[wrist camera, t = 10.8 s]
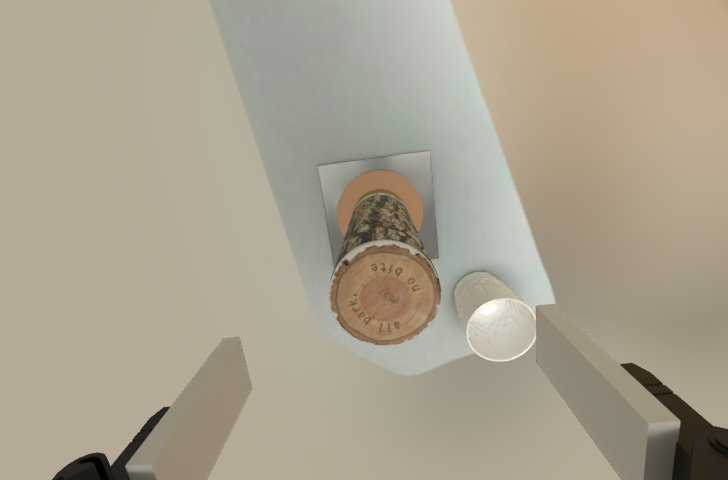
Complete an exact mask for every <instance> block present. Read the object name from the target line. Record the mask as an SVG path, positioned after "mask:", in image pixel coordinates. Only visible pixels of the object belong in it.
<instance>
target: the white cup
mask: <svg viewBox="0 0 728 480" xmlns="http://www.w3.org/2000/svg"><path fill="white" fill-rule="evenodd" d="M454 303H455V305H456V309H457V312H458V315H459V319H460V322H461V324H462V327H463V330H464V332H465V335H466V338H467V341H468V343H469V345H470V347H471V348H472V350H473V351H474V352H475V353H476V354H478V355H479V356H480V357H482V358H485V359H487V360H491V361H498V362H499V361H509V360H512V359H515V358H517V357H519V356H521V355H523V354H524V353H525V352H526V351H528V350H529V348H530V347H531V346H532V345H533V343H534V342H535V340H536V315H535V313H534V312H533V310H532V309H531V308H530V307H529V306H528V305H527V304H526V303H525V302H524V301H523V300H522V299H520V298H519V297H518V296H517V295H516V294H515V293H514V292H513V291H512V290H511V289H510V288H508V287H507V286H506V285H505V284H504V283H502V282H501V281H500V280H499V279H498V278H497V277H495V276H493V275H491V274H490V273H488V272H477V271H476V272H473V273H470V274H468V275H465V276H464V277H463V278H462V279H461V280H460V281H459V282H458V283H457V285H456V287H455V290H454Z"/></svg>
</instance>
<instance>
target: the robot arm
mask: <svg viewBox="0 0 728 480" xmlns="http://www.w3.org/2000/svg"><path fill="white" fill-rule="evenodd" d="M536 362H537V363H538V365H539V366H540V368H541V369H542V370H543V372H544V373H545V375H546V376H547V377H548V379H549V380H550V381H551V383H552V384H553V386H554V387H555V388H556V389H557V391H558V393H559V394H560V395H561V397H562V398H563V400H564V401H565V402H566V404H567V405H568V406H569V408H570V409H571V411H572V412H573V413H574V415H575V416H576V417H577V419H578V420H579V422H580V423H581V425H582V426H583V427H584V429H585V430H586V432H587V433H588V434H589V436H590V437H591V438H592V440H593V441H594V443H595V444H596V445H597V447H598V448H599V450H600V451H601V452H602V454H603V455H604V457H605V458H606V459H607V461H608V462H609V463H610V465H611V466H612V467H613V469H614V470H615V472H616V473H617V475H618V476H619V477H620V479H621V480H728V429H725V428H720V427H716V426H713V425H711V424H710V423H709V422H708V421H707V420H705V419H704V418H703V417H702V416H701V415H700V414H698V413H697V412H696V411H695V410H694V409H692V408H691V407H690V406H689V405H688V404H687V403H685V402H684V401H683V400H682V399H681V398H680V397H678V396H677V395H676V394H673V391H671V390H670V389H669V388H668V387H667V386H665V385H663V384H662V382H660V380H658V379H657V378H656V377H655V376H654V375H653V374H651V373H650V372H649V371H646V370H645V369H643V368H641V367H639V366H637V365H635V364H633V363H627V364H618V363H617V362H616V361H615V360H614V359H613V358H612V357H611V356H610V355H609V354H608V353H606V352H605V351H604V350H603V349H602V348H601V347H600V346H599V345H598V344H597V343H596V342H595V341H594V340H592V339H591V338H590V337H589V336H588V335H587V334H586V333H585V332H584V331H583V330H581V328H579V327H578V326H577V325H576V324H575V323H574V322H573V321H572V320H571V319H570V318H569V317H568V316H567V315H565V314H564V313H563V312H562V311H561V310H560V309H559V308H558V307H557V306H556V305H555V304H549V305H540V306H536ZM251 390H252V385H251V381H250V377H249V373H248V369H247V365H246V361H245V357H244V353H243V349H242V345H241V341H240V337H233V338H223V339H222V341H221V342H220V343H219V345H218V346H217V347H216V348H215V350H214V351H213V352H212V354H211V355H210V356H209V357H208V359H207V360H206V361H205V363H204V364H203V365H202V367H201V368H200V369H199V371H198V372H197V373H196V374H195V376H194V377H193V378H192V380H191V381H190V382H189V383H188V385H187V386H186V387H185V389H184V390H183V391H182V393H181V394H180V395H179V397H178V398H177V399H176V400H175V402H174V403H173V404H172V406H171V407H163V408H162V409H161V410H160V411H158V412H157V413H156V414H155V415H153V416H152V417H151V418H150V419H149V420H148V421H147V423H146V424H145V425H144V426H143V427H142V429H141V430H140V432H139V433H138V434H137V435H136V436H135V437H134V439H133V441H132V442H130V443H129V445H128V446H127V447H126V448H125V450H124V451H123V452H122V454H121V455H120V456H119V457H118V458H117V460H116V461H115V462H114V463H113V465H112V466H111V467H110V464H109V462H108V459H107V457H106V456H105V454H103V453H92V454H88V455H86V456H83V457H80V458H78V459H76V460H75V461H73V462H71V463H70V464H68V465H67V466H65V467H64V468H63V469H62V470H61V471H59V472H58V473H57V474H56V476H55V477H54V478H53V479H52V480H207V479H208V477H209V475H210V473H211V471H212V469H213V467H214V465H215V463H216V461H217V459H218V457H219V455H220V453H221V451H222V449H223V447H224V444H225V442H226V441H227V439H228V437H229V435H230V432H231V430H232V428H233V426H234V424H235V422H236V420H237V418H238V416H239V414H240V412H241V410H242V408H243V406H244V404H245V402H246V400H247V398H248V396H249V394H250V392H251Z"/></svg>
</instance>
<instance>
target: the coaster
mask: <svg viewBox="0 0 728 480" xmlns="http://www.w3.org/2000/svg"><path fill="white" fill-rule="evenodd" d="M318 171H319V177H320V183H321V189H322V196H323V202H324V208H325V214H326V220H327V226H328V232H329V238H330V244H331V251H332V257H333V263H334V268H335V265H336V262H337V259H338V256H339V253H340V250H341V247H342V244H343V241H344V238H345V235H346V232H347V229H348V226H349V223H350V220H351V216H352V213H353V211H354V208H355V205H356V203H357V202H358V200H359V199H360V198H361V197H362V196H363V195H364V194H366V193H367V192H369V191H372V190H376V189H384V190H389V191H391V192H393V193H395V194H397V195H398V196H399V197H400V198H401V199H402V201H403V202H404V204H405V206H406V208H407V210H408V212H409V214H410V216H411V219H412V221H413V223H414V225H415V227H416V229H417V231H418V234H419V236H420V238H421V240H422V242H423V244H424V247H425V249H426V251H427V253H428V255H429V257H430V259H439V256H438V244H437V232H436V220H435V207H434V195H433V183H432V171H431V159H430V151H423V152H415V153H408V154H400V155H393V156H385V157H378V158H371V159H363V160H356V161H348V162H341V163H333V164H326V165H319V166H318Z"/></svg>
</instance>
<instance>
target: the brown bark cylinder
mask: <svg viewBox="0 0 728 480" xmlns="http://www.w3.org/2000/svg"><path fill="white" fill-rule="evenodd" d="M329 299H330V305H331V309H332V312H333V314H334V316H335V318H336V319H337V321H338V322H339V324H340V325H341V326H342V327H343V328H344V329H345V330H346V331H347V332H348V333H349V334H351V335H352V336H353V337H355V338H357V339H359V340H361V341H363V342H366V343H370V344H374V345H385V346H386V345H396V344H400V343H404V342H406V341H409V340H411V339H413V338H415V337H416V336H418V335H419V334H421V333H422V332H423V331H424V330H425V329H426V328H427V327H428V326H429V325H430V324H431V322H432V321H433V319H434V318H435V316H436V314H437V312H438V309H439V305H440V300H441V288H440V282H439V279H438V275H437V273H436V270H435V268H434V266H433V264H432V262H431V260H430V257H429V255H428V253H427V251H426V249H425V247H424V244H423V242H422V240H421V238H420V236H419V234H418V231H417V229H416V227H415V225H414V223H413V221H412V219H411V216H410V214H409V212H408V210H407V208H406V206H405V204H404V202H403V201H402V199H401V198H400V197H399V196H398V195H397V194H395V193H393V192H391V191H389V190H384V189H376V190H372V191H369V192H367V193H366V194H364V195H363V196H362V197H361V198H360V199H359V200H358V202H357V203H356V205H355V208H354V211H353V213H352V216H351V220H350V223H349V226H348V229H347V232H346V235H345V238H344V241H343V244H342V247H341V250H340V253H339V256H338V259H337V262H336V265H335V268H334V271H333V274H332V277H331V282H330V288H329Z"/></svg>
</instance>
